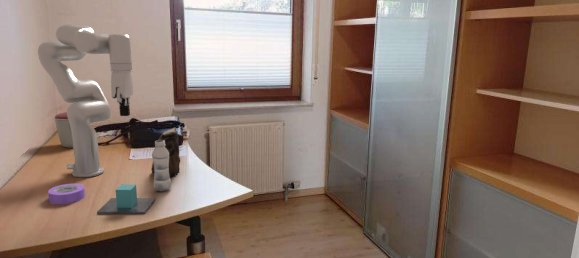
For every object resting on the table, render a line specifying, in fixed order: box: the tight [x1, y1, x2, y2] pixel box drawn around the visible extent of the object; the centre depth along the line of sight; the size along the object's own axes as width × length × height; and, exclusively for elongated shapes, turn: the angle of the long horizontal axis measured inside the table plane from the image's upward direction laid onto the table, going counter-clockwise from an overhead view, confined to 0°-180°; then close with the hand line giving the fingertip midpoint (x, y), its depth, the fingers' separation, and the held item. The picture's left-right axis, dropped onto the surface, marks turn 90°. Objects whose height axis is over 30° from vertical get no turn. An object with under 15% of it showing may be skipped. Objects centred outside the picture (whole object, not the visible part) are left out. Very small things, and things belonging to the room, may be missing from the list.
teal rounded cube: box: [115, 183, 138, 208], centre depth 141 cm, size 5×5×7 cm
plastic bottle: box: [151, 139, 172, 192], centre depth 155 cm, size 6×7×20 cm
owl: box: [151, 127, 181, 179], centre depth 174 cm, size 13×13×20 cm
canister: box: [52, 111, 73, 149], centre depth 218 cm, size 18×18×21 cm
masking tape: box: [47, 183, 86, 205], centre depth 148 cm, size 12×12×4 cm
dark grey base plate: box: [96, 197, 156, 215], centre depth 141 cm, size 16×12×6 cm
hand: (125, 115), depth 155 cm, fingers closed
